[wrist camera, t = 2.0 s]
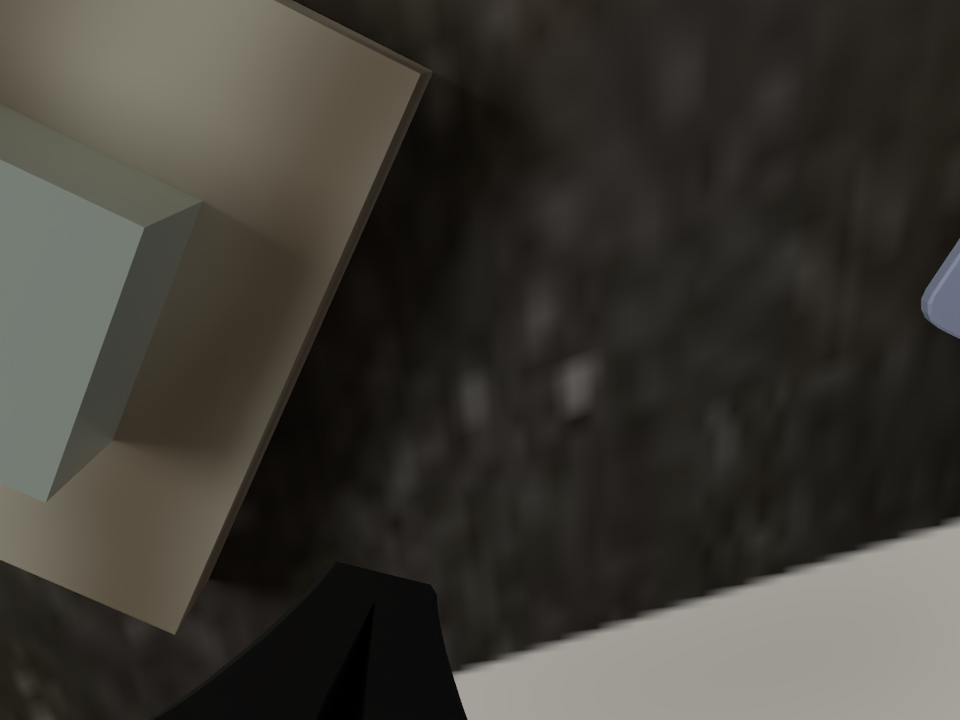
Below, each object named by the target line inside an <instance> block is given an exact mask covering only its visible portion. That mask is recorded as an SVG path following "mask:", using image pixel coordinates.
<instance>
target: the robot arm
mask: <svg viewBox="0 0 960 720" xmlns="http://www.w3.org/2000/svg"><path fill="white" fill-rule="evenodd" d="M921 310H922V312H923V314H924V316H925V318H926V319H927V320H928V321H930V322H931V323H932V324H933V325H935V326H936V327H938V328H939V329H941V330H943V331H945V332H947V333H949V334H951V335H953V336H955V337H957V338H959V339H960V239H959V240H958V242H957V243H956V245H955V246H954V248H953V249H952V251H951V252H950V254H949V255H948V257H947V258H946V260H945V261H944V263H943V264H942V266H941V267H940V269H939V270H938V272H937V273H936V275H935V276H934V278H933V279H932V281H931V282H930V284H929V285H928V287H927V288H926V290H925V292H924V294H923V297H922V299H921ZM150 720H467V717H466V714H465V712H464V709H463V706H462V703H461V700H460V697H459V694H458V690H457V687H456V684H455V681H454V678H453V674H452V671H451V668H450V664H449V661H448V657H447V653H446V649H445V645H444V640H443V636H442V631H441V626H440V621H439V615H438V607H437V594H436V593H435V591H434V589H433V588H432V586H431V585H429V584H425V583H421V582H417V581H413V580H409V579H405V578H401V577H397V576H393V575H388V574H384V573H380V572H376V571H372V570H368V569H364V568H360V567H356V566H352V565H348V564H343V563H339V562H335V563H333V564H331V565H329V566H327V567H325V569H324V570H323V572H322V573H321V574H320V576H319V577H318V578H317V579H316V580H315V582H314V583H313V584H312V585H311V586H310V587H309V589H308V590H307V591H306V592H305V593H304V594H303V595H302V596H301V597H300V598H299V599H298V600H297V601H296V602H295V603H294V604H293V605H292V606H291V607H290V608H289V609H288V610H287V611H286V612H285V613H284V614H283V615H282V616H281V617H280V618H279V619H278V620H277V621H276V622H275V623H274V624H273V625H271V626H270V627H269V628H268V629H267V630H266V631H265V632H264V633H263V634H262V635H261V636H259V637H258V638H257V639H256V640H255V641H254V642H253V643H252V644H251V645H250V646H248V647H247V648H246V649H245V650H244V651H242V652H241V653H240V654H239V655H238V656H236V657H235V658H234V659H232V660H231V661H230V662H229V663H227V664H226V665H225V666H224V667H222V668H221V669H220V670H219V671H217V672H216V673H215V674H214V675H212V676H211V677H210V678H209V679H207V680H206V681H205V682H203V683H202V684H201V685H200V686H198V687H197V688H195V689H194V690H193V691H191V692H190V693H188V694H187V695H186V696H184V697H183V698H181V699H180V700H179V701H177V702H176V703H174V704H173V705H171V706H170V707H168V708H167V709H166V710H164V711H162V712H161V713H159V714H158V715H156V716H155V717H153V718H152V719H150Z"/></svg>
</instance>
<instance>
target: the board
mask: <svg viewBox="0 0 960 720" xmlns="http://www.w3.org/2000/svg"><path fill="white" fill-rule="evenodd" d="M432 74H433V71H432V70H430V69H428V68H426V67H424V66H422V65H420V64H418V63H416V62H414V61H412V60H410V59H408V58H406V57H404V56H402V55H400V54H398V53H396V52H394V51H392V50H390V49H388V48H386V47H384V46H382V45H380V44H378V43H376V42H374V41H372V40H370V39H368V38H366V37H364V36H362V35H360V34H358V33H356V32H354V31H352V30H350V29H348V28H346V27H345V26H343V25H341V24H339V23H337V22H335V21H333V20H331V19H329V18H327V17H325V16H323V15H321V14H319V13H317V12H315V11H313V10H311V9H309V8H307V7H305V6H303V5H301V4H299V3H297V2H295V1H293V0H0V104H2V105H4V106H6V107H8V108H10V109H12V110H14V111H16V112H18V113H21V114H23V115H25V116H27V117H29V118H31V119H33V120H35V121H37V122H39V123H41V124H44V125H46V126H48V127H50V128H52V129H54V130H56V131H58V132H60V133H62V134H65V135H67V136H69V137H71V138H73V139H75V140H77V141H79V142H81V143H83V144H85V145H88V146H90V147H92V148H94V149H96V150H98V151H100V152H102V153H104V154H106V155H108V156H111V157H113V158H115V159H117V160H119V161H121V162H123V163H125V164H127V165H129V166H131V167H134V168H136V169H138V170H140V171H142V172H144V173H146V174H148V175H150V176H152V177H155V178H157V179H159V180H161V181H163V182H165V183H167V184H169V185H171V186H173V187H175V188H178V189H180V190H182V191H184V192H186V193H188V194H190V195H192V196H194V197H196V198H198V199H201V200H203V203H202V205H201V208H200V211H199V213H198V216H197V218H196V221H195V224H194V226H193V229H192V232H191V234H190V237H189V240H188V242H187V245H186V248H185V250H184V253H183V256H182V258H181V261H180V264H179V266H178V269H177V271H176V274H175V277H174V279H173V282H172V285H171V287H170V290H169V293H168V295H167V298H166V301H165V303H164V306H163V309H162V311H161V314H160V316H159V319H158V322H157V324H156V327H155V330H154V332H153V335H152V338H151V340H150V343H149V346H148V348H147V351H146V354H145V356H144V359H143V362H142V364H141V367H140V369H139V372H138V375H137V377H136V380H135V383H134V385H133V388H132V391H131V393H130V396H129V399H128V401H127V404H126V407H125V409H124V412H123V414H122V417H121V420H120V422H119V425H118V428H117V430H116V433H115V436H114V438H113V441H112V442H111V443H110V444H109V445H107V446H106V447H105V448H104V449H103V450H102V451H101V452H100V453H99V454H98V455H97V456H96V457H95V458H93V459H92V460H91V461H90V462H89V463H88V464H87V465H86V466H85V467H84V468H83V469H82V470H81V471H79V472H78V473H77V474H76V475H75V476H74V477H73V478H72V479H71V480H70V481H69V482H68V483H67V484H65V485H64V486H63V487H62V488H61V489H60V490H59V491H58V492H57V493H56V494H55V495H54V496H53V497H51V498H50V499H49V500H48V501H47V502H46V503H45V502H42V501H40V500H38V499H35V498H33V497H31V496H29V495H26V494H24V493H22V492H19V491H17V490H15V489H13V488H10V487H8V486H6V485H3V484H1V483H0V560H2V561H5V562H7V563H9V564H12V565H14V566H16V567H19V568H21V569H23V570H26V571H28V572H30V573H33V574H35V575H37V576H40V577H42V578H44V579H46V580H49V581H51V582H53V583H56V584H58V585H60V586H63V587H65V588H67V589H70V590H72V591H74V592H77V593H79V594H81V595H84V596H86V597H88V598H91V599H93V600H95V601H98V602H100V603H102V604H105V605H107V606H109V607H112V608H114V609H116V610H119V611H121V612H123V613H126V614H128V615H130V616H133V617H135V618H137V619H140V620H142V621H144V622H147V623H149V624H151V625H153V626H156V627H158V628H160V629H163V630H165V631H167V632H170V633H172V634H174V635H175V634H176V632H177V631H178V629H179V627H180V626H181V624H182V622H183V621H184V619H185V618H186V616H187V614H188V613H189V611H190V609H191V608H192V606H193V604H194V603H195V601H196V600H197V598H198V596H199V595H200V593H201V591H202V590H203V588H204V587H205V585H206V583H207V582H208V580H209V578H210V575H211V573H212V571H213V568H214V566H215V564H216V562H217V559H218V557H219V555H220V553H221V550H222V548H223V546H224V544H225V541H226V539H227V537H228V535H229V532H230V530H231V528H232V526H233V523H234V521H235V519H236V517H237V514H238V512H239V510H240V507H241V505H242V503H243V501H244V498H245V496H246V494H247V492H248V489H249V487H250V485H251V483H252V480H253V478H254V476H255V474H256V471H257V469H258V467H259V465H260V462H261V460H262V458H263V456H264V453H265V451H266V449H267V446H268V444H269V442H270V440H271V437H272V435H273V433H274V431H275V428H276V426H277V424H278V422H279V419H280V417H281V415H282V413H283V410H284V408H285V406H286V404H287V401H288V399H289V397H290V395H291V392H292V390H293V388H294V385H295V383H296V381H297V379H298V376H299V374H300V372H301V370H302V367H303V365H304V363H305V361H306V358H307V356H308V354H309V352H310V349H311V347H312V345H313V343H314V340H315V338H316V336H317V333H318V331H319V329H320V327H321V324H322V322H323V320H324V318H325V315H326V313H327V311H328V309H329V306H330V304H331V302H332V300H333V297H334V295H335V293H336V291H337V288H338V286H339V284H340V282H341V279H342V277H343V275H344V272H345V270H346V268H347V266H348V263H349V261H350V259H351V257H352V254H353V252H354V250H355V248H356V245H357V243H358V241H359V239H360V236H361V234H362V232H363V230H364V227H365V225H366V223H367V221H368V218H369V216H370V214H371V211H372V209H373V207H374V205H375V202H376V200H377V198H378V196H379V193H380V191H381V189H382V187H383V184H384V182H385V180H386V178H387V175H388V173H389V171H390V169H391V166H392V164H393V162H394V160H395V157H396V155H397V153H398V150H399V148H400V146H401V144H402V141H403V139H404V137H405V135H406V132H407V130H408V128H409V126H410V123H411V121H412V119H413V117H414V114H415V112H416V110H417V108H418V105H419V103H420V101H421V99H422V96H423V94H424V92H425V89H426V87H427V85H428V83H429V80H430V78H431V76H432Z"/></svg>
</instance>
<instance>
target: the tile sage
mask: <svg viewBox="0 0 960 720" xmlns="http://www.w3.org/2000/svg"><path fill="white" fill-rule="evenodd" d="M202 203H203V200H201V199H198V198H196V197H194V196H192V195H190V194H188V193H186V192H184V191H182V190H180V189H178V188H175V187H173V186H171V185H169V184H167V183H165V182H163V181H161V180H159V179H157V178H155V177H152V176H150V175H148V174H146V173H144V172H142V171H140V170H138V169H136V168H134V167H131V166H129V165H127V164H125V163H123V162H121V161H119V160H117V159H115V158H113V157H111V156H108V155H106V154H104V153H102V152H100V151H98V150H96V149H94V148H92V147H90V146H88V145H85V144H83V143H81V142H79V141H77V140H75V139H73V138H71V137H69V136H67V135H65V134H62V133H60V132H58V131H56V130H54V129H52V128H50V127H48V126H46V125H44V124H41V123H39V122H37V121H35V120H33V119H31V118H29V117H27V116H25V115H23V114H21V113H18V112H16V111H14V110H12V109H10V108H8V107H6V106H4V105H2V104H0V483H1V484H3V485H6V486H8V487H10V488H13V489H15V490H17V491H19V492H22V493H24V494H26V495H29V496H31V497H33V498H35V499H38V500H40V501H42V502H45V503H46V502H47V501H48V500H49V499H50V498H51V497H53V496H54V495H55V494H56V493H57V492H58V491H59V490H60V489H61V488H62V487H63V486H64V485H65V484H67V483H68V482H69V481H70V480H71V479H72V478H73V477H74V476H75V475H76V474H77V473H78V472H79V471H81V470H82V469H83V468H84V467H85V466H86V465H87V464H88V463H89V462H90V461H91V460H92V459H93V458H95V457H96V456H97V455H98V454H99V453H100V452H101V451H102V450H103V449H104V448H105V447H106V446H107V445H109V444H110V443H111V442H112V441H113V438H114V436H115V433H116V430H117V428H118V425H119V422H120V420H121V417H122V414H123V412H124V409H125V407H126V404H127V401H128V399H129V396H130V393H131V391H132V388H133V385H134V383H135V380H136V377H137V375H138V372H139V369H140V367H141V364H142V362H143V359H144V356H145V354H146V351H147V348H148V346H149V343H150V340H151V338H152V335H153V332H154V330H155V327H156V324H157V322H158V319H159V316H160V314H161V311H162V309H163V306H164V303H165V301H166V298H167V295H168V293H169V290H170V287H171V285H172V282H173V279H174V277H175V274H176V271H177V269H178V266H179V264H180V261H181V258H182V256H183V253H184V250H185V248H186V245H187V242H188V240H189V237H190V234H191V232H192V229H193V226H194V224H195V221H196V218H197V216H198V213H199V211H200V208H201V205H202Z"/></svg>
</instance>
